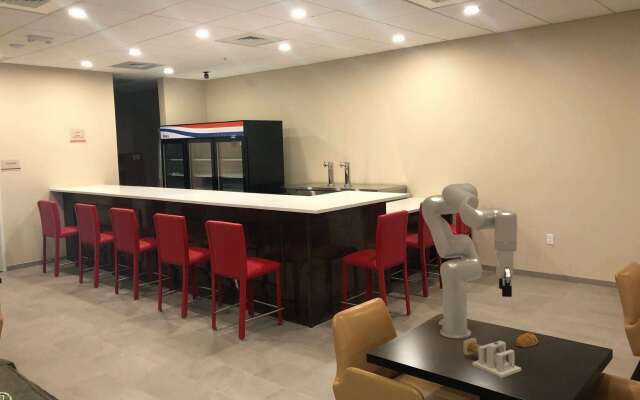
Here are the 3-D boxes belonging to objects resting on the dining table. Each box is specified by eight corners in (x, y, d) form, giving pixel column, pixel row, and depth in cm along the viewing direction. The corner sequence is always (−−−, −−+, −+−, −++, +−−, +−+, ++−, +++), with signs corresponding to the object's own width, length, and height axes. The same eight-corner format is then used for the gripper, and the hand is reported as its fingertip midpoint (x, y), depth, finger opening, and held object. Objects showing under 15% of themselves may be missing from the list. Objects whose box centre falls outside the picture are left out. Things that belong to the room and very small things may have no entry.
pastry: (527, 350, 197) (527, 340, 196) (511, 345, 202) (510, 336, 201) (539, 343, 203) (539, 334, 202) (523, 339, 208) (523, 330, 207)
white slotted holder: (472, 365, 185) (472, 340, 184) (491, 358, 190) (491, 335, 189) (501, 377, 173) (501, 352, 173) (521, 370, 178) (521, 345, 178)
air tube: (463, 353, 191) (463, 340, 191) (473, 350, 194) (473, 337, 193) (496, 367, 178) (496, 353, 177) (507, 364, 180) (507, 350, 180)
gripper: (492, 241, 192) (491, 285, 194) (496, 250, 175) (496, 299, 177) (513, 241, 190) (512, 286, 192) (520, 251, 173) (519, 300, 175)
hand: (505, 292), depth 184 cm, fingers open, 9 cm apart
